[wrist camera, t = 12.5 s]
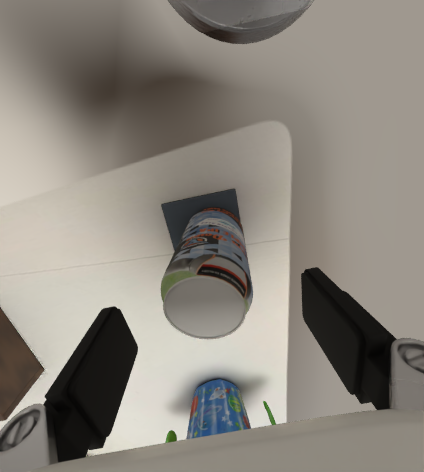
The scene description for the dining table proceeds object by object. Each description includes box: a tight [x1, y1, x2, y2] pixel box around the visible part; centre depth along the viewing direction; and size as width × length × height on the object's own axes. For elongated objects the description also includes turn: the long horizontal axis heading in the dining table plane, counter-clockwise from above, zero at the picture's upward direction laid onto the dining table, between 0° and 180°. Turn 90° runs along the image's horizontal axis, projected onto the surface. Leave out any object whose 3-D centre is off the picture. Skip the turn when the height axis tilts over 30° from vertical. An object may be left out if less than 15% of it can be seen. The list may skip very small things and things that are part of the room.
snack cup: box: [165, 379, 276, 443], centre depth 27 cm, size 16×10×10 cm
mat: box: [161, 189, 240, 250], centre depth 23 cm, size 9×8×1 cm
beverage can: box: [161, 207, 253, 339], centre depth 17 cm, size 6×7×12 cm
